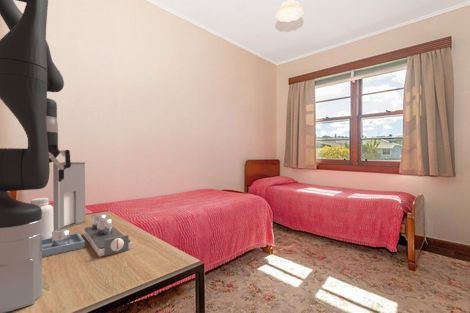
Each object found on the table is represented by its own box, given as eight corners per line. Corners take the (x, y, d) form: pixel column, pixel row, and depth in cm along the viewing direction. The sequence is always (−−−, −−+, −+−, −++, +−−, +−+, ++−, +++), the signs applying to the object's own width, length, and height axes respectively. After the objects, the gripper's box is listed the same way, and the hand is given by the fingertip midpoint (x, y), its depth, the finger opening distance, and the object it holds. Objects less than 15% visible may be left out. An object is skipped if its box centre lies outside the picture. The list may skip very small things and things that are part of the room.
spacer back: (107, 227, 96) (107, 215, 96) (93, 230, 93) (93, 217, 93) (104, 224, 100) (104, 212, 100) (90, 227, 96) (90, 214, 96)
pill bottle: (22, 239, 89) (21, 199, 89) (47, 233, 96) (46, 196, 96) (32, 243, 86) (32, 201, 85) (57, 236, 93) (57, 198, 93)
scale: (133, 249, 80) (133, 234, 80) (100, 257, 74) (100, 241, 74) (110, 228, 102) (110, 217, 102) (82, 233, 96) (82, 221, 96)
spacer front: (70, 245, 82) (70, 231, 82) (52, 249, 79) (52, 234, 79) (68, 241, 86) (68, 227, 86) (51, 245, 82) (51, 230, 82)
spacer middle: (114, 233, 89) (113, 219, 89) (98, 236, 86) (98, 222, 86) (110, 230, 93) (110, 217, 93) (95, 232, 90) (95, 219, 90)
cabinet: (65, 219, 117) (64, 162, 117) (88, 217, 121) (87, 161, 121) (53, 232, 98) (53, 163, 98) (81, 229, 102) (81, 163, 102)
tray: (85, 247, 82) (85, 241, 82) (39, 257, 74) (39, 250, 74) (79, 238, 91) (79, 232, 91) (38, 246, 83) (38, 240, 83)
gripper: (12, 128, 69) (12, 184, 69) (71, 131, 78) (71, 181, 78) (13, 131, 75) (13, 183, 74) (68, 133, 84) (69, 180, 84)
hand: (43, 182), depth 76 cm, fingers open, 8 cm apart
